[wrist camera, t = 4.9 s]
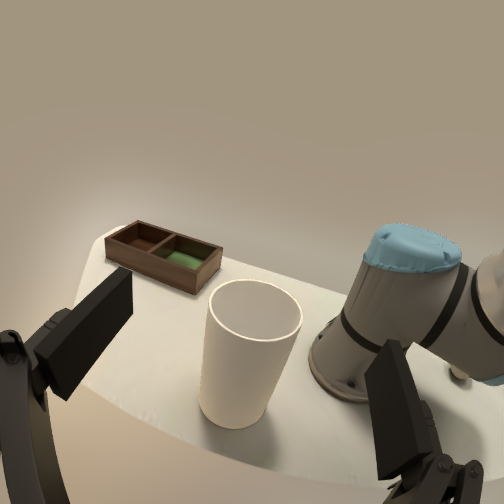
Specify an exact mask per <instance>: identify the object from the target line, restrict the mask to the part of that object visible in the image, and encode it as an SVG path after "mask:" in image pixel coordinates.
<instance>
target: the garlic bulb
mask: <svg viewBox="0 0 504 504" xmlns="http://www.w3.org/2000/svg"><path fill="white" fill-rule="evenodd" d="M451 370H452V373H453V374H454V375H455V376H456V377H457V378H460V379H466V378H469V375H467V374H466V373H464V372H462V371H461V370H459V369H458V368H456V367H454V366H453V365H451Z"/></svg>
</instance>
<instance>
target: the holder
mask: <svg viewBox="0 0 504 504" xmlns="http://www.w3.org/2000/svg"><path fill="white" fill-rule="evenodd" d="M104 239H105V252H106V258H108V259H110V260H112V261H114V262H117V263H119V264H121V265H123V266H126V267H128V268H130V269H132V270H135V271H137V272H139V273H142V274H144V275H146V276H149V277H151V278H154V279H156V280H158V281H161V282H163V283H166V284H168V285H171V286H173V287H176V288H178V289H181V290H183V291H186V292H188V293H191V294H193V295H196V294H197V293H198V292H199V291H200V289H201V288H202V287H203V286H204V285H205V284H206V283H207V281H208V280H209V279H210V278H211V277H212V276H213V275H214V273H215V272H216V271H217V270H218V269H219V268H220V266H221V259H222V252H223V247H219V246H216V245H214V244H210V243H207V242H204V241H201V240H198V239H194V238H191V237H188V236H185V235H182V234H179V233H176V232H173V231H170V230H167V229H164V228H161V227H158V226H154V225H151V224H148V223H145V222H142V221H139V220H137V221H135V222H133V223H132V224H130V225H128V226H126V227H124V228H122V229H120V230H119V231H117V232H115V233H113V234H111V235H109V236H108V237H106V238H104Z"/></svg>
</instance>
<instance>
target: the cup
mask: <svg viewBox="0 0 504 504" xmlns="http://www.w3.org/2000/svg"><path fill="white" fill-rule="evenodd" d="M302 320H303V313H302V310H301V307H300V305H299V304H298V302H297V301H296V300H295V299H294V297H292V296H291V295H290V294H289V293H288V292H286V291H285V290H283V289H281V288H279V287H277V286H275V285H273V284H270V283H267V282H263V281H258V280H250V279H241V280H233V281H229V282H226V283H224V284H222V285H220V286H218V287H217V288H216V289H215V290H214V291H213V292H212V294H211V296H210V299H209V303H208V310H207V319H206V328H205V338H204V348H203V359H202V370H201V382H200V394H199V403H200V407H201V410H202V412H203V413H204V415H205V416H206V417H207V418H208V419H209V420H210V421H212V422H213V423H215V424H216V425H218V426H221V427H224V428H228V429H241V428H246V427H248V426H251V425H252V424H254V423H255V422H257V421H258V420H259V419H260V417H261V416H262V414H263V412H264V410H265V408H266V406H267V404H268V402H269V399H270V397H271V395H272V393H273V391H274V389H275V386H276V384H277V382H278V380H279V378H280V375H281V373H282V371H283V368H284V366H285V364H286V362H287V359H288V357H289V355H290V352H291V350H292V347H293V345H294V343H295V340H296V338H297V335H298V333H299V330H300V328H301V325H302Z"/></svg>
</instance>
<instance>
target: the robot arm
mask: <svg viewBox="0 0 504 504" xmlns="http://www.w3.org/2000/svg"><path fill="white" fill-rule="evenodd" d="M461 255H462V253H461V250H460V248H459V247H458V246H457V245H456V244H455V243H454V242H452V241H449V240H447V238H445V237H443V236H441V235H439V234H437V233H435V232H432V231H429V230H426V229H423V228H420V227H416V226H412V225H406V224H397V223H396V224H387V225H384V226H382V227H380V228H379V229H378V230H377V231H376V232H375V234H374V236H373V238H372V240H371V242H370V245H369V247H368V249H367V251H366V252H365V253H364V255H363V261H362V264H361V266H360V269H359V271H358V274H357V276H356V278H355V281H354V283H353V286H352V288H351V290H350V293H349V295H348V297H347V300H346V302H345V304H344V306H343V309H342V311H341V313H340V314H339V315H338V316H337V317H335V318H334V319H332V320H331V321H332V322H331V321H330V322H331V323H330V322H328V323H330V324H329V325H328V326H326V327H325V329H323V330H322V331H321V332H320V333H319V334H318V336H317V337H316V338H315V340H314V342H313V344H312V347H311V349H310V352H309V363H310V367H311V370H312V372H313V374H314V376H315V378H316V379H317V380H318V382H319V383H320V384H321V385H322V386H323V387H324V388H325V389H326V390H327V391H329V392H330V393H331V394H333V395H334V396H336V397H338V398H340V399H343V400H345V401H348V402H352V403H360V404H364V403H369V407H370V413H371V420H372V427H373V435H374V443H375V451H376V461H377V472H378V480H390V479H394V478H395V477H397V476H399V475H400V474H401V478H402V479H401V480H399V481H398V482H396V483H394V484H392V485H391V486H389V487H388V488H387V489H388V490H389V489H391V488H393V487H394V488H393V490H392V491H391V493H390V494H389V496H388V497H387V498H386V500H385V501H384V503H383V504H480V498H481V491H482V484H483V475H484V471H483V467H482V465H481V463H480V462H479V461H477V460H472V461H470V462H468V463H467V464H466V465H460V464H455V463H454V462H453V460H452V458H451V457H450V456H449V455H447V454H443V453H442V450H441V446H440V442H439V438H438V434H437V430H436V427H435V423H434V420H433V416H432V413H431V410H430V408H429V406H428V405H427V403H426V402H425V401H422V400H420V399H419V396H418V392H417V389H416V386H415V383H414V380H413V377H412V374H411V371H410V368H409V365H408V362H407V360H406V357H405V356H406V352H407V350H408V349H409V347H410V346H411V344H412V343H413V342H415V343H417V344H418V345H420V346H422V347H424V348H425V349H427V350H429V351H430V352H432V353H434V354H435V355H437V356H439V357H440V358H442V359H443V360H445V361H447V362H448V363H450V364H451V365H453V366H454V367H456V368H458V369H459V370H461V371H462V372H464V373H466V374H467V375H469V377H470V378H472V379H473V380H476V381H478V382H482V383H484V384H486V385H489V386H499V385H502V384H504V249H503V251H502V253H501V254H494V255H490V256H488V257H486V258H485V259H484V260H483V261H482V262H481V264H480V265H479V267H478V268H477V270H474V269H472V268H471V267H469V266H466V265H464V264H463V263H461ZM132 314H133V294H132V271H131V270H128V269H125V268H122V267H119V268H118V269H116V270H115V271H114V272H113V273H112V274H111V275H110V276H108V277H107V278H106V279H105V280H104V281H103V282H102V283H101V284H100V285H98V286H97V287H96V288H95V289H94V290H93V291H92V292H91V293H90V294H89V295H87V296H86V297H85V298H84V299H83V300H82V301H81V302H80V303H79V304H78V305H77V306H76V307H75V308H74V309H73V310H72V311H71V310H69V309H67V308H64V309H62V310H60V311H58V312H56V313H55V314H54V315H53V316H52V317H51V318H50V319H49V321H46V323H44V325H43V326H41V328H39V329H38V330H37V331H36V332H35V333H34V334H33V335H32V336H31V337H30V338H29V339H28V340H27V341H26V342H25V343H24V344H23V341H22V339H21V336H20V335H19V333H18V332H16V331H14V330H6V331H3V332H1V333H0V451H1V453H2V461H3V468H4V474H5V479H6V485H7V489H8V494H9V498H10V502H11V504H70V502H69V499H68V496H67V493H66V490H65V486H64V483H63V479H62V476H61V472H60V468H59V464H58V460H57V456H56V451H55V446H54V441H53V435H52V429H51V423H50V416H49V408H48V400H47V392H46V389H47V387H48V386H50V388H51V390H52V391H53V393H54V394H56V395H57V396H59V397H60V398H62V399H63V400H65V401H67V400H68V399H69V397H70V396H71V394H72V393H73V392H74V390H75V389H76V387H77V386H78V385H79V383H80V382H81V380H82V379H83V378H84V376H85V375H86V374H87V372H88V371H89V370H90V368H91V367H92V366H93V364H94V363H95V362H96V360H97V359H98V358H99V356H100V355H101V354H102V352H103V351H104V350H105V349H106V347H107V346H108V345H109V343H110V342H111V341H112V340H113V338H114V337H115V336H116V334H117V333H118V332H119V331H120V329H121V328H122V327H123V326H124V324H125V323H126V322H127V321H128V319H129V318H130V317H131V316H132ZM328 323H327V324H328ZM327 324H326V325H327ZM453 497H454V500H453V502H452V503H450V500H451V498H453Z"/></svg>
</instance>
